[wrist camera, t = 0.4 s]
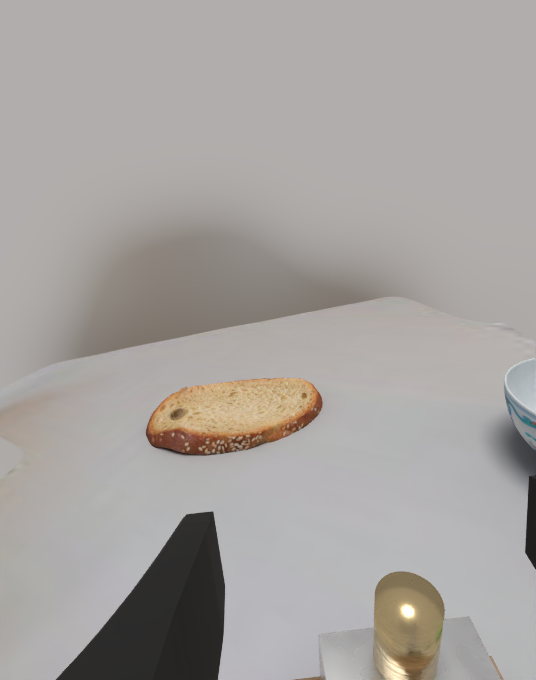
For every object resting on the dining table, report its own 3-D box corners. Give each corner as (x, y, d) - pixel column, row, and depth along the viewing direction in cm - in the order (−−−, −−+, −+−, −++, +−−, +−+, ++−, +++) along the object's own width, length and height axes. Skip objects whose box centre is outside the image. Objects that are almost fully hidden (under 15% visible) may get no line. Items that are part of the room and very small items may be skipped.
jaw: (490, 729, 21) (514, 624, 18) (331, 749, 21) (327, 646, 18) (461, 663, 24) (478, 562, 21) (320, 680, 24) (315, 580, 20)
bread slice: (333, 398, 55) (332, 372, 53) (261, 488, 41) (258, 456, 39) (221, 374, 64) (218, 351, 62) (131, 441, 50) (124, 413, 48)
